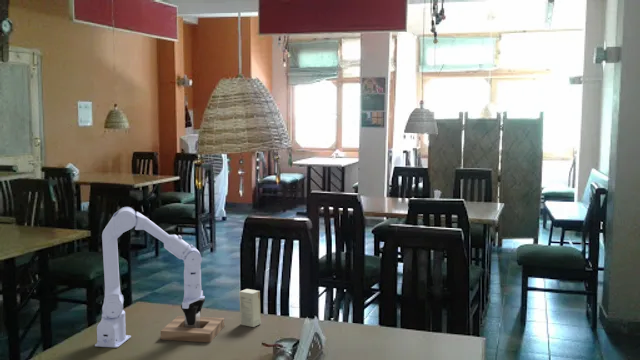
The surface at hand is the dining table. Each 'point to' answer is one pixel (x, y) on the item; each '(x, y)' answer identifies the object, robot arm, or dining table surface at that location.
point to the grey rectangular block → (197, 321)
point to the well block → (192, 330)
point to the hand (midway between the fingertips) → (193, 322)
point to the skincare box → (250, 307)
